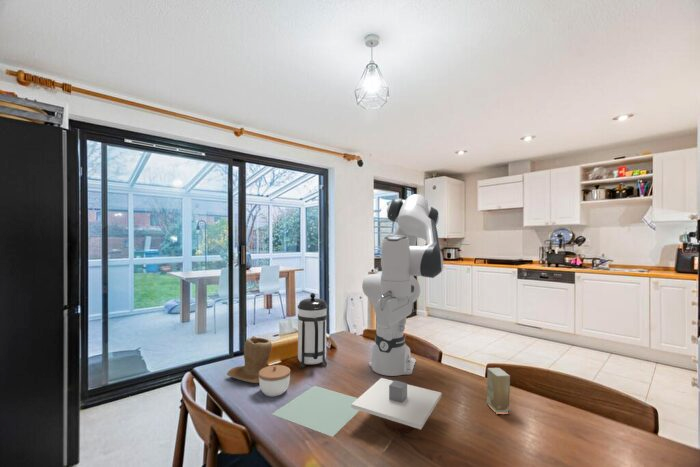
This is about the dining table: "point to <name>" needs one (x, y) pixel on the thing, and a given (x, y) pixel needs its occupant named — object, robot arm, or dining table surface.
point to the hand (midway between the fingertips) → (395, 335)
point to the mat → (319, 410)
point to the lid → (398, 402)
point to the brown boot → (252, 360)
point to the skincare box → (498, 389)
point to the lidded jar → (274, 380)
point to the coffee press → (312, 331)
